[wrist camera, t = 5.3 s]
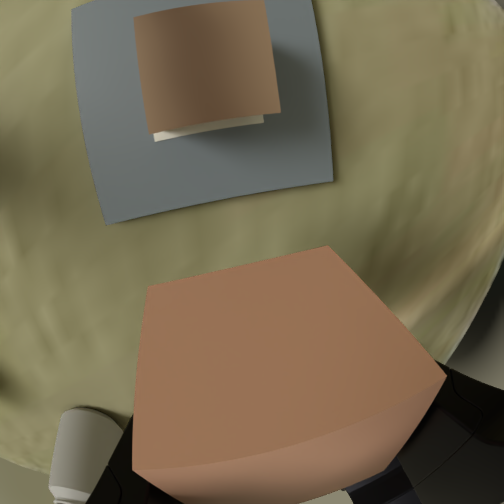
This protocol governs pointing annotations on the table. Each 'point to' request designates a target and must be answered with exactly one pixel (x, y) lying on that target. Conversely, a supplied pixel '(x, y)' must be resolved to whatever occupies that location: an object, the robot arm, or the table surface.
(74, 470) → the can
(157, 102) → the walnut base block
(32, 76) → the table surface
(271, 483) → the terracotta block
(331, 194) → the table surface
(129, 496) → the robot arm
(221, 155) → the grey square plate
